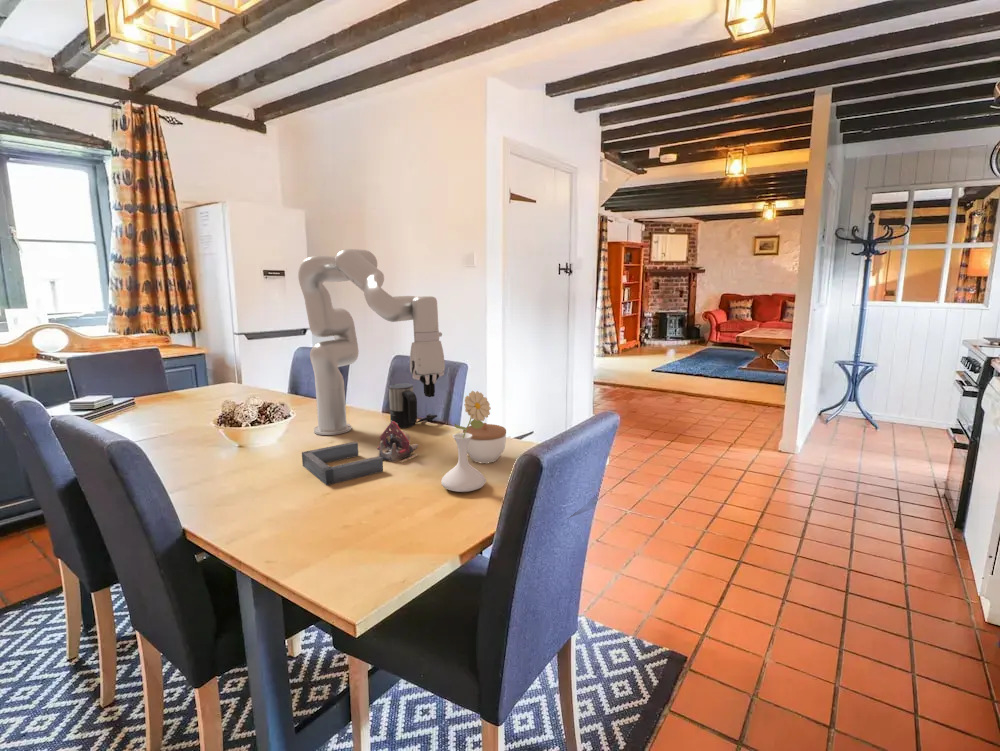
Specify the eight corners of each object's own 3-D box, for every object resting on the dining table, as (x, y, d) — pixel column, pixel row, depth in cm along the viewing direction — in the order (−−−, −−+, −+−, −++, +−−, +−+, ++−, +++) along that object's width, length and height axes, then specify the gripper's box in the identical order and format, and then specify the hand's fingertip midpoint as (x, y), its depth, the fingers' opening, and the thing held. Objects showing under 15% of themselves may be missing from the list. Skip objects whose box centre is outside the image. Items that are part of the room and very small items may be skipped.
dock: (302, 465, 155) (301, 452, 154) (355, 454, 164) (355, 441, 164) (326, 485, 140) (325, 470, 139) (383, 471, 150) (382, 457, 149)
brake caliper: (364, 452, 158) (380, 415, 163) (386, 465, 167) (400, 429, 172) (394, 458, 153) (409, 420, 157) (414, 471, 161) (428, 434, 166)
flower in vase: (449, 499, 131) (446, 398, 126) (435, 483, 141) (432, 389, 136) (498, 490, 136) (497, 393, 131) (482, 475, 146) (480, 385, 142)
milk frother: (384, 426, 195) (382, 386, 192) (414, 416, 208) (413, 379, 205) (412, 432, 187) (411, 390, 184) (442, 422, 200) (441, 383, 197)
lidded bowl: (454, 460, 159) (453, 423, 157) (484, 449, 168) (484, 415, 166) (485, 470, 150) (484, 432, 148) (515, 458, 159) (515, 422, 157)
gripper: (440, 334, 172) (443, 391, 175) (398, 338, 163) (402, 398, 166) (453, 336, 166) (456, 394, 169) (410, 340, 157) (414, 401, 160)
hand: (429, 396), depth 167 cm, fingers closed
